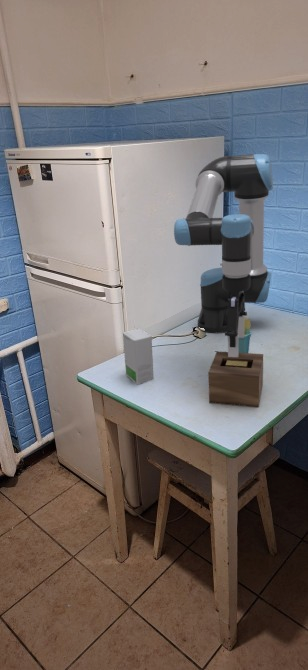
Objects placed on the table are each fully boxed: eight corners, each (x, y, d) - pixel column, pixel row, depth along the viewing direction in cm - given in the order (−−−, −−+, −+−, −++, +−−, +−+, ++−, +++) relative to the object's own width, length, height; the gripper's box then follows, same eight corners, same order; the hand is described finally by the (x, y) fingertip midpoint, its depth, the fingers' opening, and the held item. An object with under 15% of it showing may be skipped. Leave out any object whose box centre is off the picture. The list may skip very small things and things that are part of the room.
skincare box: (125, 375, 156) (121, 332, 150) (143, 369, 159) (139, 327, 153) (137, 385, 149) (133, 340, 143) (155, 379, 152) (152, 334, 146)
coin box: (217, 380, 148) (216, 351, 144) (262, 383, 144) (263, 354, 140) (209, 402, 136) (208, 372, 132) (258, 407, 132) (259, 375, 128)
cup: (242, 372, 152) (242, 329, 146) (220, 368, 155) (219, 326, 150) (256, 355, 163) (257, 314, 157) (235, 351, 166) (235, 312, 161)
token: (227, 387, 142) (227, 360, 139) (247, 388, 140) (247, 361, 137) (225, 392, 139) (225, 364, 136) (246, 393, 138) (246, 366, 134)
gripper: (229, 262, 138) (229, 329, 146) (214, 288, 116) (216, 364, 124) (255, 262, 136) (254, 330, 144) (244, 288, 114) (244, 366, 122)
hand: (236, 346), depth 134 cm, fingers open, 13 cm apart
